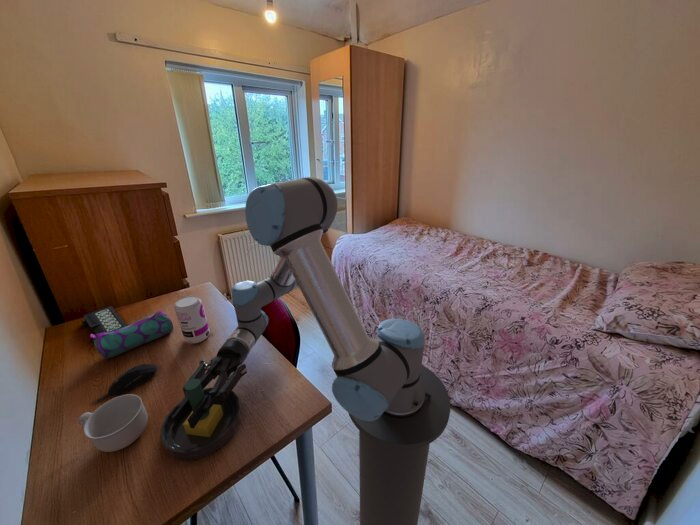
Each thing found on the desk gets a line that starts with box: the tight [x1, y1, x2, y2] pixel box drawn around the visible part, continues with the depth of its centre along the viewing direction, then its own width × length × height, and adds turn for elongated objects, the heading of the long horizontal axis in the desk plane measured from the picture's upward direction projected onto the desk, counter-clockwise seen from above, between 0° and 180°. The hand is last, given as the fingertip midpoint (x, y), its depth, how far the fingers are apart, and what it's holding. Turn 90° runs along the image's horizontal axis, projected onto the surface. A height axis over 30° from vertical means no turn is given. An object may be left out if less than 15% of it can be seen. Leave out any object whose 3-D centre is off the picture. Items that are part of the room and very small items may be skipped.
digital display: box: [81, 306, 128, 342], centre depth 107 cm, size 21×3×10 cm
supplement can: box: [174, 295, 211, 344], centre depth 98 cm, size 8×8×15 cm
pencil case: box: [89, 310, 174, 360], centre depth 96 cm, size 21×9×10 cm, turn 138°
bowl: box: [159, 387, 243, 462], centre depth 70 cm, size 17×17×4 cm
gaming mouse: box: [96, 363, 158, 402], centre depth 82 cm, size 6×15×4 cm, turn 142°
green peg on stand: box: [183, 379, 223, 437], centre depth 67 cm, size 6×6×14 cm
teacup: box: [77, 393, 149, 453], centre depth 67 cm, size 14×11×8 cm
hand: (182, 422), depth 62 cm, fingers closed on green peg on stand, 3 cm apart
